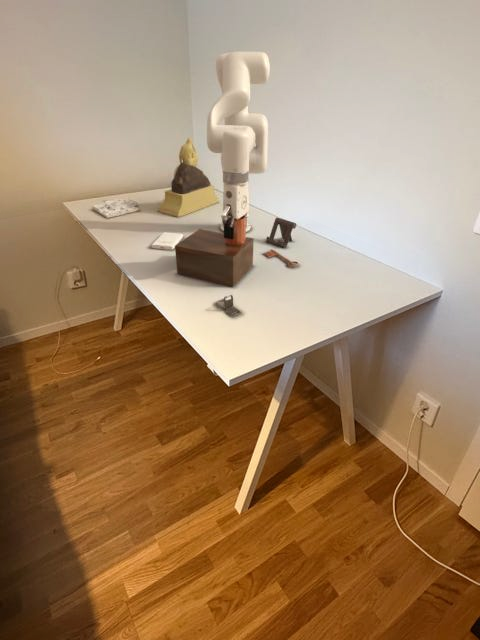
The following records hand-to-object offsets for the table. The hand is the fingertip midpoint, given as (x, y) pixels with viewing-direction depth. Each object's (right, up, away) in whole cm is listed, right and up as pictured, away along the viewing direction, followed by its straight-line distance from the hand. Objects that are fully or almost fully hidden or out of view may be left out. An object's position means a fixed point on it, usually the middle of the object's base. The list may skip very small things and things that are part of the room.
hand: (235, 233), depth 121 cm
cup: (0, -2, +1) cm, 3 cm away
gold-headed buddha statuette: (-23, +27, +62) cm, 71 cm away
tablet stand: (+17, +2, +27) cm, 32 cm away
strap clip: (-2, -25, -14) cm, 28 cm away
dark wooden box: (-7, -11, +6) cm, 14 cm away
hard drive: (-26, +2, +25) cm, 36 cm away
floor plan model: (-58, +26, +60) cm, 87 cm away
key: (+16, -6, +14) cm, 22 cm away
